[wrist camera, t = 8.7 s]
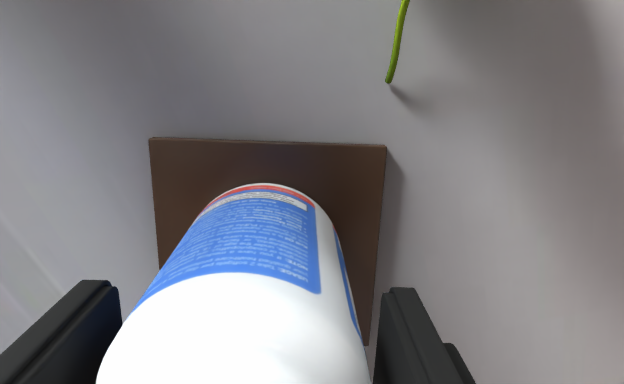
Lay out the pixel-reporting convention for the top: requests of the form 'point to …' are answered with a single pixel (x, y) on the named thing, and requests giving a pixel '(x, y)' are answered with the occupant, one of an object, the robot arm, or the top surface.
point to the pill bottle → (246, 301)
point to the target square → (283, 171)
